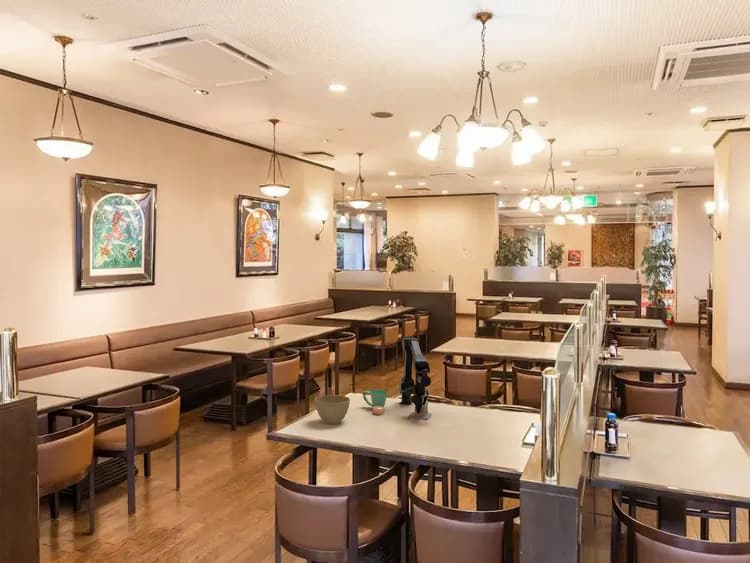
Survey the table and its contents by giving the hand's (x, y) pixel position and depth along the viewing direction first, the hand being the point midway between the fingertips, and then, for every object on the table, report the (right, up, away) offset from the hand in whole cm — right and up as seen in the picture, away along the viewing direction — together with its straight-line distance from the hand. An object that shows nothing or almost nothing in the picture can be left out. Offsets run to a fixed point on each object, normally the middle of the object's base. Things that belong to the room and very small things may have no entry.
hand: (420, 411), depth 307 cm
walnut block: (0, -2, 0) cm, 2 cm away
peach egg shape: (-23, -2, +5) cm, 23 cm away
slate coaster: (0, -3, 0) cm, 3 cm away
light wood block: (+3, -2, +10) cm, 10 cm away
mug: (-24, -2, +16) cm, 29 cm away
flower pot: (-46, -3, -12) cm, 48 cm away
